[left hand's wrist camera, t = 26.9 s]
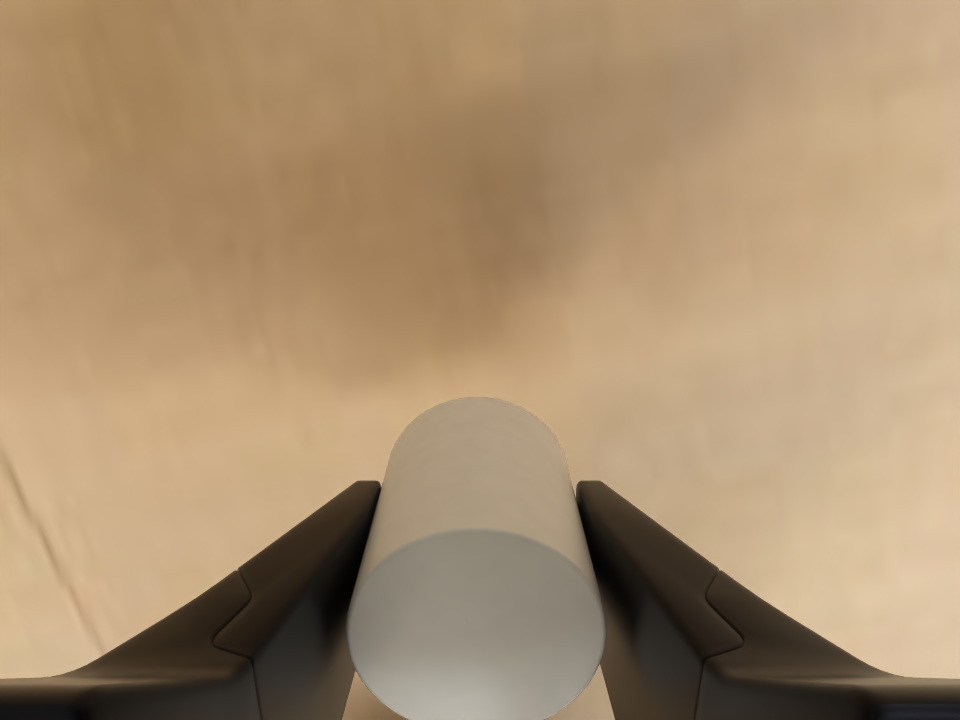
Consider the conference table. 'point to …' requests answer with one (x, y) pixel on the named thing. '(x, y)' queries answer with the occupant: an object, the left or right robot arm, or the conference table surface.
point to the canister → (476, 572)
